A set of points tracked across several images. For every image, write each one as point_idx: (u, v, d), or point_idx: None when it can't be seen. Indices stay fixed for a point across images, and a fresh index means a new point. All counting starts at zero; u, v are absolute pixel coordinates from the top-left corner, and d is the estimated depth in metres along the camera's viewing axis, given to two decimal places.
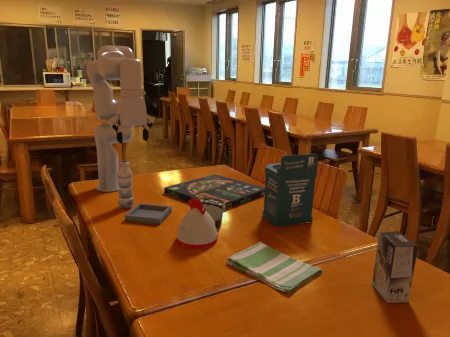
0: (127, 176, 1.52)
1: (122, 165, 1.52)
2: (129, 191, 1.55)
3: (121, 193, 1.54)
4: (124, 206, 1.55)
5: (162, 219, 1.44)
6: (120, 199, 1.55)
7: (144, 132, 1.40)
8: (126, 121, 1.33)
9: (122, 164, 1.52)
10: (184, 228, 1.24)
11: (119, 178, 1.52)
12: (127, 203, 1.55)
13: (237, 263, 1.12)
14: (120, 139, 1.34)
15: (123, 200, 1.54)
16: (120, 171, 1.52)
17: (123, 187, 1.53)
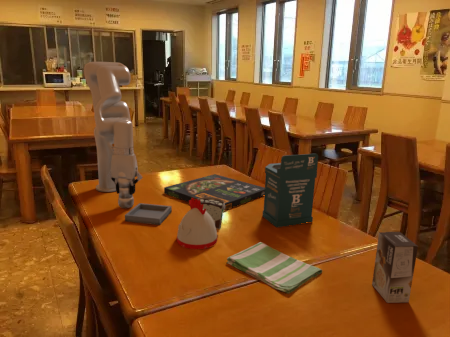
0: None
1: None
2: (129, 191, 1.55)
3: (121, 193, 1.54)
4: (124, 206, 1.55)
5: (162, 219, 1.44)
6: (120, 199, 1.55)
7: None
8: None
9: None
10: (184, 228, 1.24)
11: (119, 178, 1.52)
12: (127, 203, 1.55)
13: (237, 263, 1.12)
14: None
15: (123, 200, 1.54)
16: None
17: (123, 187, 1.53)
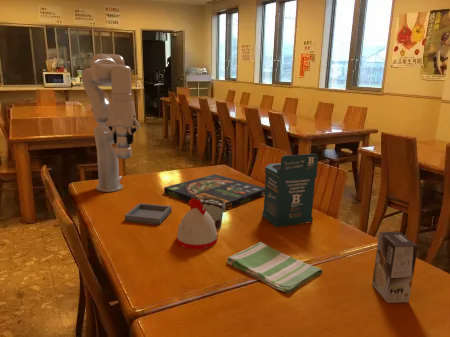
0: None
1: None
2: (127, 140, 1.50)
3: (119, 142, 1.49)
4: (122, 156, 1.50)
5: (162, 219, 1.44)
6: (118, 149, 1.50)
7: None
8: None
9: None
10: (184, 228, 1.24)
11: (117, 126, 1.47)
12: (125, 153, 1.50)
13: (237, 263, 1.12)
14: None
15: (121, 150, 1.49)
16: None
17: (120, 136, 1.48)
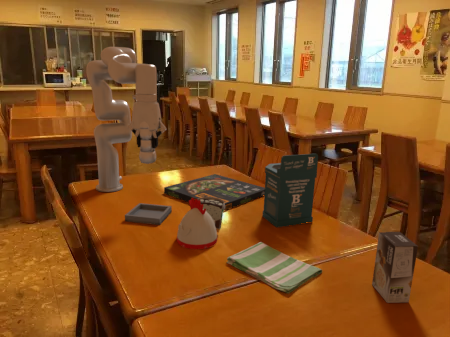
0: None
1: None
2: (151, 144, 1.40)
3: (143, 146, 1.40)
4: (146, 160, 1.40)
5: (162, 219, 1.44)
6: (141, 153, 1.40)
7: None
8: None
9: None
10: (184, 228, 1.24)
11: (141, 129, 1.38)
12: (149, 157, 1.40)
13: (237, 263, 1.12)
14: None
15: (145, 154, 1.40)
16: None
17: (145, 140, 1.39)
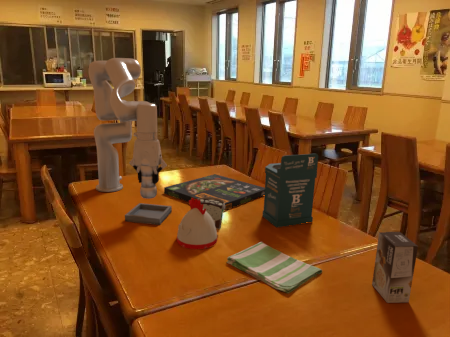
0: None
1: None
2: (152, 180, 1.44)
3: (144, 182, 1.43)
4: (147, 196, 1.44)
5: (162, 219, 1.44)
6: (143, 188, 1.44)
7: None
8: None
9: None
10: (184, 228, 1.24)
11: (142, 166, 1.41)
12: (150, 193, 1.44)
13: (237, 262, 1.12)
14: None
15: (146, 190, 1.43)
16: None
17: (146, 176, 1.42)
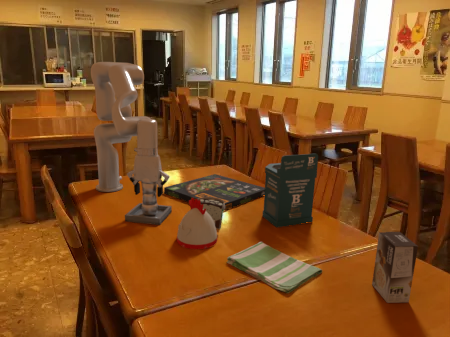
0: None
1: None
2: (153, 197, 1.46)
3: (145, 199, 1.45)
4: (148, 213, 1.46)
5: (162, 219, 1.44)
6: (144, 206, 1.46)
7: (138, 186, 1.47)
8: None
9: None
10: (184, 228, 1.24)
11: (143, 183, 1.43)
12: (151, 210, 1.46)
13: (237, 263, 1.12)
14: None
15: (147, 207, 1.45)
16: None
17: (147, 193, 1.44)
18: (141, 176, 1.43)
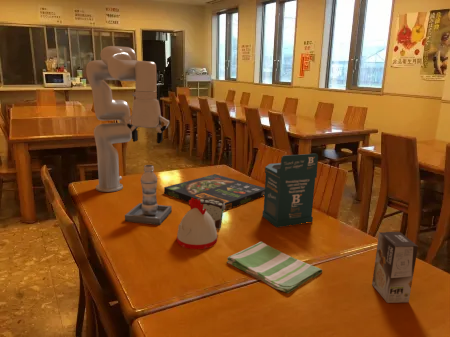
0: (151, 182, 1.43)
1: (146, 170, 1.43)
2: (153, 197, 1.46)
3: (145, 199, 1.45)
4: (148, 213, 1.46)
5: (162, 219, 1.44)
6: (144, 206, 1.46)
7: (136, 132, 1.42)
8: None
9: (146, 169, 1.43)
10: (184, 228, 1.24)
11: (143, 184, 1.43)
12: (151, 210, 1.46)
13: (237, 262, 1.12)
14: None
15: (147, 207, 1.45)
16: (144, 176, 1.43)
17: (147, 194, 1.44)
18: (139, 121, 1.37)
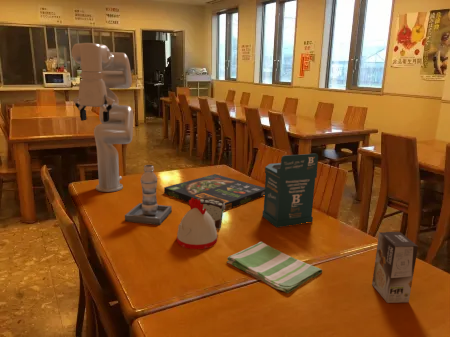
0: (151, 182, 1.43)
1: (146, 170, 1.43)
2: (153, 197, 1.46)
3: (145, 199, 1.45)
4: (148, 213, 1.46)
5: (162, 219, 1.44)
6: (144, 206, 1.46)
7: (84, 112, 1.49)
8: None
9: (146, 169, 1.43)
10: (184, 228, 1.24)
11: (143, 184, 1.43)
12: (151, 210, 1.46)
13: (237, 262, 1.12)
14: None
15: (147, 207, 1.45)
16: (144, 176, 1.43)
17: (147, 194, 1.44)
18: (86, 101, 1.45)
